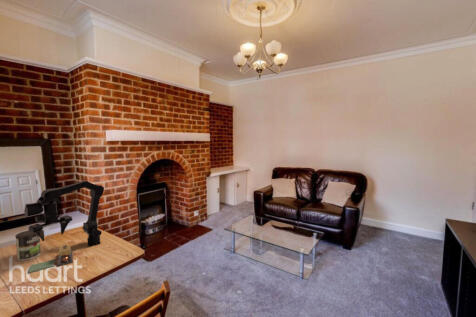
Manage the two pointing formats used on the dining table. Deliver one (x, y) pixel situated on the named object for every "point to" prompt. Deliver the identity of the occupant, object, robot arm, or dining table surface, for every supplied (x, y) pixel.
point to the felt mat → (41, 266)
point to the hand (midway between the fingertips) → (53, 237)
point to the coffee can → (27, 245)
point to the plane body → (65, 259)
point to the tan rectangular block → (64, 250)
